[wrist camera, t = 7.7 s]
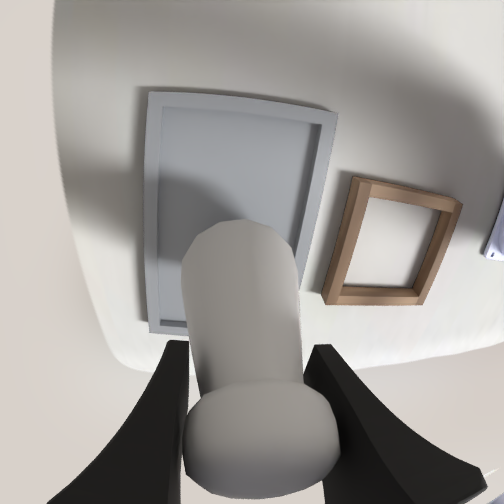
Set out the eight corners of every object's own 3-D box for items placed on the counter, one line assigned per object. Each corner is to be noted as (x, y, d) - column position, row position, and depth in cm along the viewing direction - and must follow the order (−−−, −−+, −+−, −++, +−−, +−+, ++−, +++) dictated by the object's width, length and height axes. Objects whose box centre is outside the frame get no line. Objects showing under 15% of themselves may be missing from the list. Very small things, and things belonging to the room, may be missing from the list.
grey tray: (332, 112, 16) (338, 113, 15) (283, 331, 24) (285, 340, 23) (153, 91, 15) (148, 91, 14) (151, 323, 22) (149, 332, 21)
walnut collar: (453, 198, 20) (463, 204, 18) (415, 296, 24) (422, 305, 23) (352, 176, 18) (360, 181, 17) (320, 294, 22) (325, 304, 21)
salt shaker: (221, 311, 20) (230, 522, 8) (164, 241, 17) (99, 468, 5) (304, 266, 19) (394, 471, 7) (256, 185, 16) (339, 395, 5)
